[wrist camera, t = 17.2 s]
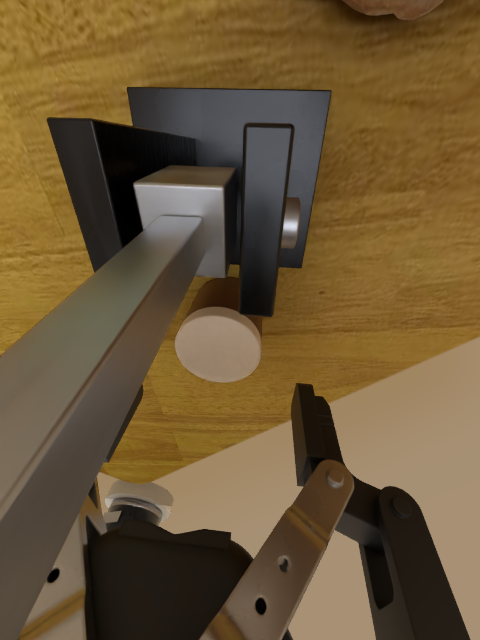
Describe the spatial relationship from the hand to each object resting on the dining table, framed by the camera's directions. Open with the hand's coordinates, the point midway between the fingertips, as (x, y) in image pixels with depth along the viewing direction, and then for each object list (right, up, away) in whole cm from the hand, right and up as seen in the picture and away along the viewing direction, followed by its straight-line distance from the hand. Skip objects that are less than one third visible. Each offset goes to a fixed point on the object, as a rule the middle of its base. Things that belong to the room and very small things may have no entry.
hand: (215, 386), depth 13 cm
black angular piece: (+1, +11, +1) cm, 11 cm away
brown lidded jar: (0, +4, +6) cm, 7 cm away
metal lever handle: (-1, +2, -9) cm, 9 cm away
